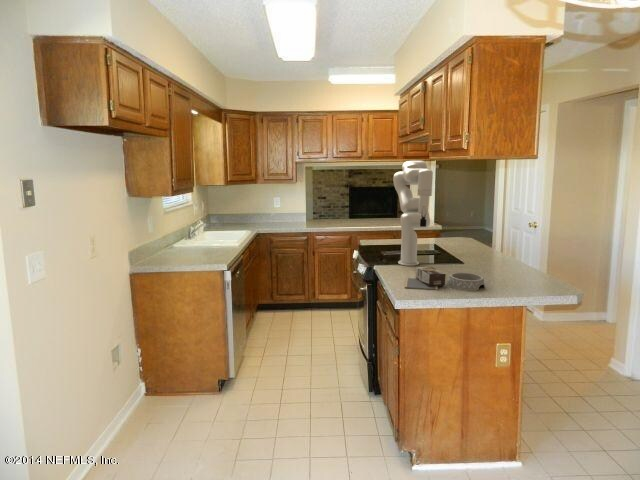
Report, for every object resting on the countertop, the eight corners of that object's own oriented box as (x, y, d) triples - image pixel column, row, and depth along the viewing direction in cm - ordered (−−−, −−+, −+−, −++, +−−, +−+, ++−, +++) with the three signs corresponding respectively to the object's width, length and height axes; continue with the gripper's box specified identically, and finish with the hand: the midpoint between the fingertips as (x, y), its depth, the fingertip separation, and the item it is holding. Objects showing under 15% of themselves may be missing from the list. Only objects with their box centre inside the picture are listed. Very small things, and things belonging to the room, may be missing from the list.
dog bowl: (490, 286, 232) (491, 276, 231) (472, 293, 219) (473, 282, 219) (459, 279, 244) (460, 270, 243) (441, 286, 232) (442, 276, 231)
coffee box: (415, 278, 243) (428, 286, 227) (415, 266, 242) (429, 274, 226) (431, 278, 245) (445, 286, 229) (431, 266, 243) (446, 273, 228)
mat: (406, 279, 245) (406, 277, 244) (436, 280, 241) (436, 279, 241) (404, 288, 227) (404, 287, 227) (437, 290, 224) (437, 289, 224)
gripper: (417, 191, 253) (416, 223, 257) (417, 194, 239) (415, 228, 242) (431, 191, 251) (430, 224, 255) (431, 194, 237) (430, 229, 241)
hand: (423, 226), depth 249 cm, fingers closed
